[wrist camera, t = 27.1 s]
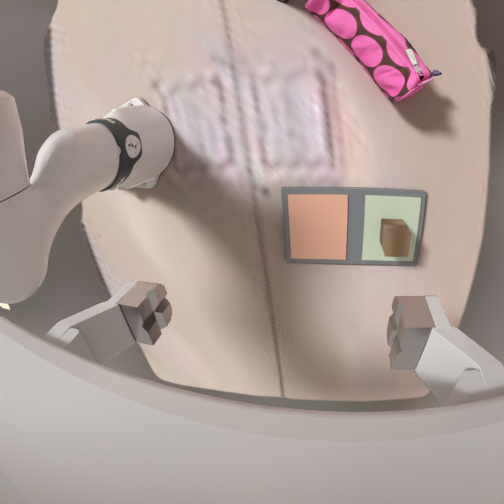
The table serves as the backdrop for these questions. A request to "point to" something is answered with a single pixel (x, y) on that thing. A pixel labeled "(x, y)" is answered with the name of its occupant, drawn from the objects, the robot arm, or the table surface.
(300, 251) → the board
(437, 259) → the table surface
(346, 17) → the pencil case
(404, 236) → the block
